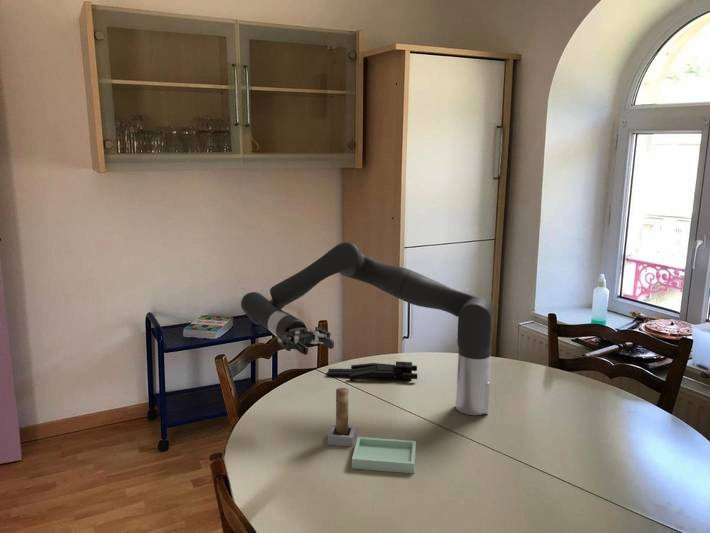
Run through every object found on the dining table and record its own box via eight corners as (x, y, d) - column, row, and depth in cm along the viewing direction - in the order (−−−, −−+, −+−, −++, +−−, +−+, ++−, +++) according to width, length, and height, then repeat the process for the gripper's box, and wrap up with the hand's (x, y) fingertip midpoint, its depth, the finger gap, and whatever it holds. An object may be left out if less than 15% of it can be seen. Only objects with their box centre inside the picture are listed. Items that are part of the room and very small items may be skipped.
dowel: (348, 437, 158) (349, 388, 156) (347, 443, 155) (347, 393, 152) (337, 436, 159) (337, 387, 156) (335, 442, 156) (335, 392, 153)
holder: (355, 434, 160) (355, 426, 159) (352, 446, 154) (352, 437, 153) (332, 433, 161) (332, 424, 160) (327, 444, 154) (327, 435, 154)
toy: (327, 392, 197) (418, 385, 193) (325, 375, 196) (416, 368, 192) (331, 380, 206) (418, 373, 202) (329, 364, 204) (416, 356, 201)
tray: (415, 450, 152) (416, 441, 152) (414, 473, 142) (414, 463, 141) (357, 445, 154) (357, 436, 154) (351, 468, 143) (351, 458, 143)
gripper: (265, 318, 164) (299, 340, 152) (307, 311, 173) (342, 330, 162) (263, 343, 166) (296, 366, 155) (305, 334, 175) (339, 356, 164)
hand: (320, 348), depth 158 cm, fingers open, 8 cm apart
